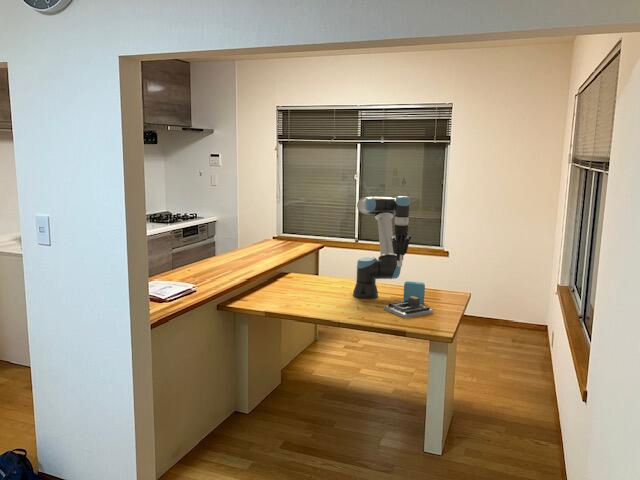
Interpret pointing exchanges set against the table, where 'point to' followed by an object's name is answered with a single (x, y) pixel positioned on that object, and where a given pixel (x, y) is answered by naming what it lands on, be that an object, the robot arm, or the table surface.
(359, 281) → the robot arm
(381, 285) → the table surface
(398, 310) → the breaker panel
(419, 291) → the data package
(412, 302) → the breaker toggle
